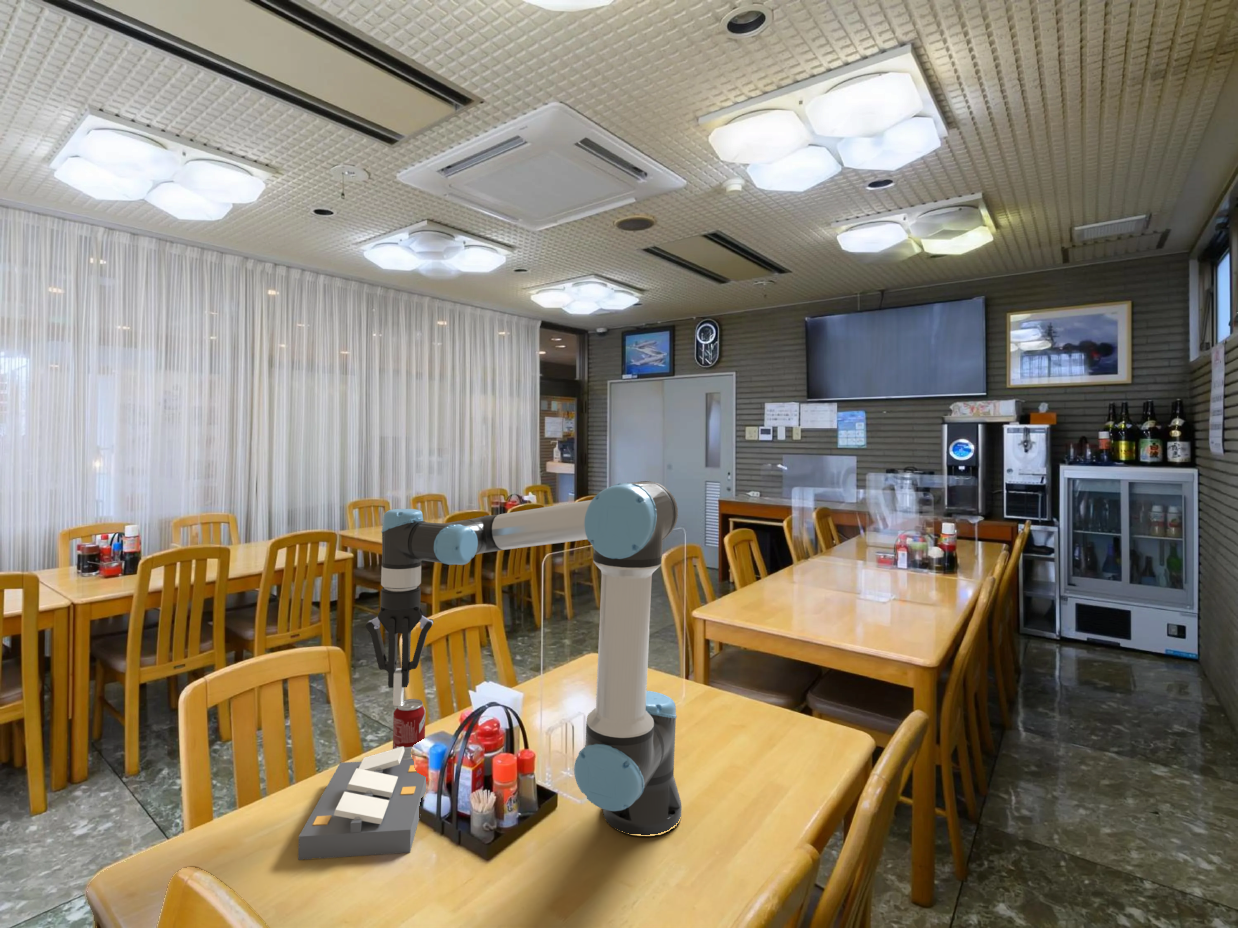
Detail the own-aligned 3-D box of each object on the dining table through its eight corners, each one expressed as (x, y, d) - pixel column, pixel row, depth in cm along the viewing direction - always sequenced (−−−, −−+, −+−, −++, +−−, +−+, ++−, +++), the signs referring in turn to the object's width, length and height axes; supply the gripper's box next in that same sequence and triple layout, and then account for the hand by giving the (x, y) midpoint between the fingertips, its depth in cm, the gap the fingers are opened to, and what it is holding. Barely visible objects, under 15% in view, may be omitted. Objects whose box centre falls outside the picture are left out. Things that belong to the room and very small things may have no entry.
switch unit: (430, 776, 130) (431, 750, 130) (410, 852, 106) (410, 819, 106) (340, 781, 127) (340, 754, 127) (298, 859, 104) (298, 826, 103)
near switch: (387, 808, 112) (389, 799, 112) (379, 827, 106) (382, 819, 106) (342, 799, 111) (344, 790, 111) (332, 819, 105) (335, 809, 105)
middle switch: (395, 783, 120) (398, 776, 120) (389, 801, 114) (392, 792, 114) (354, 775, 119) (356, 767, 119) (345, 792, 113) (348, 784, 113)
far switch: (405, 752, 128) (403, 745, 128) (400, 767, 122) (398, 759, 122) (366, 764, 127) (364, 757, 127) (358, 779, 121) (356, 772, 121)
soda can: (414, 766, 134) (415, 711, 134) (386, 762, 135) (387, 708, 135) (430, 751, 141) (431, 699, 140) (403, 747, 142) (404, 696, 142)
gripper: (437, 582, 128) (434, 694, 129) (371, 582, 126) (368, 695, 127) (432, 591, 121) (428, 709, 122) (362, 591, 119) (359, 711, 120)
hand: (398, 702), depth 125 cm, fingers closed
